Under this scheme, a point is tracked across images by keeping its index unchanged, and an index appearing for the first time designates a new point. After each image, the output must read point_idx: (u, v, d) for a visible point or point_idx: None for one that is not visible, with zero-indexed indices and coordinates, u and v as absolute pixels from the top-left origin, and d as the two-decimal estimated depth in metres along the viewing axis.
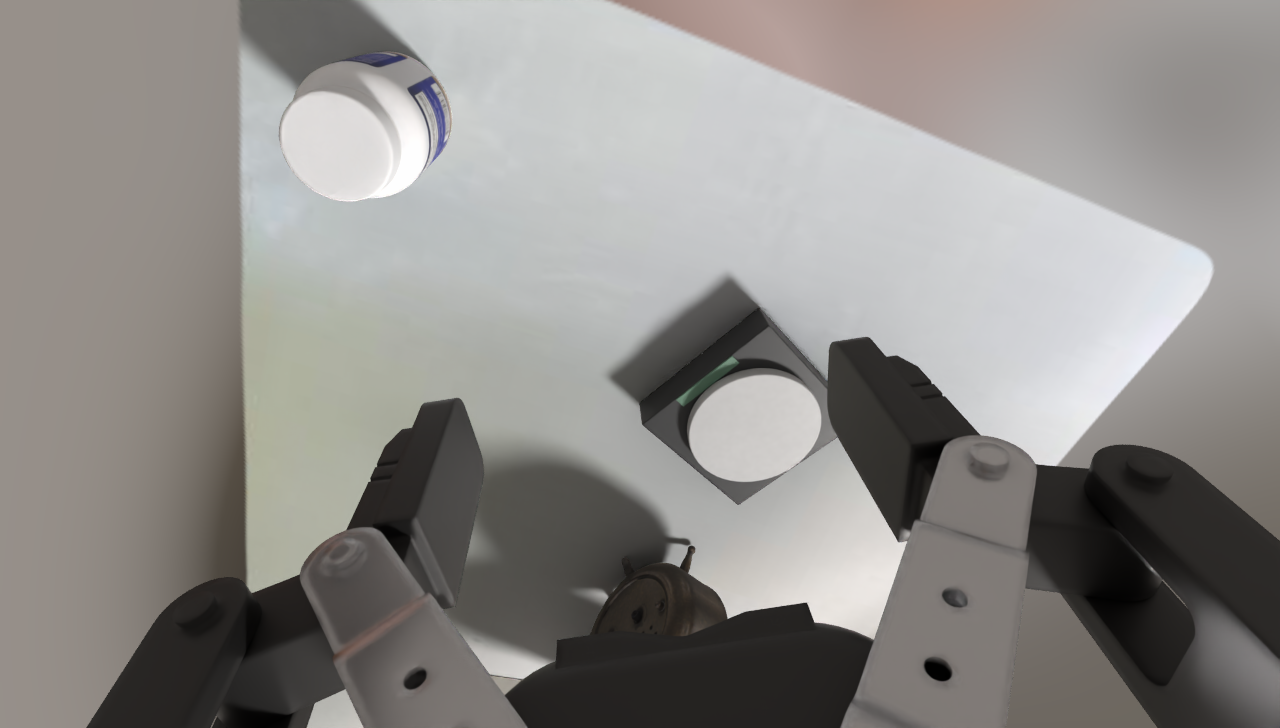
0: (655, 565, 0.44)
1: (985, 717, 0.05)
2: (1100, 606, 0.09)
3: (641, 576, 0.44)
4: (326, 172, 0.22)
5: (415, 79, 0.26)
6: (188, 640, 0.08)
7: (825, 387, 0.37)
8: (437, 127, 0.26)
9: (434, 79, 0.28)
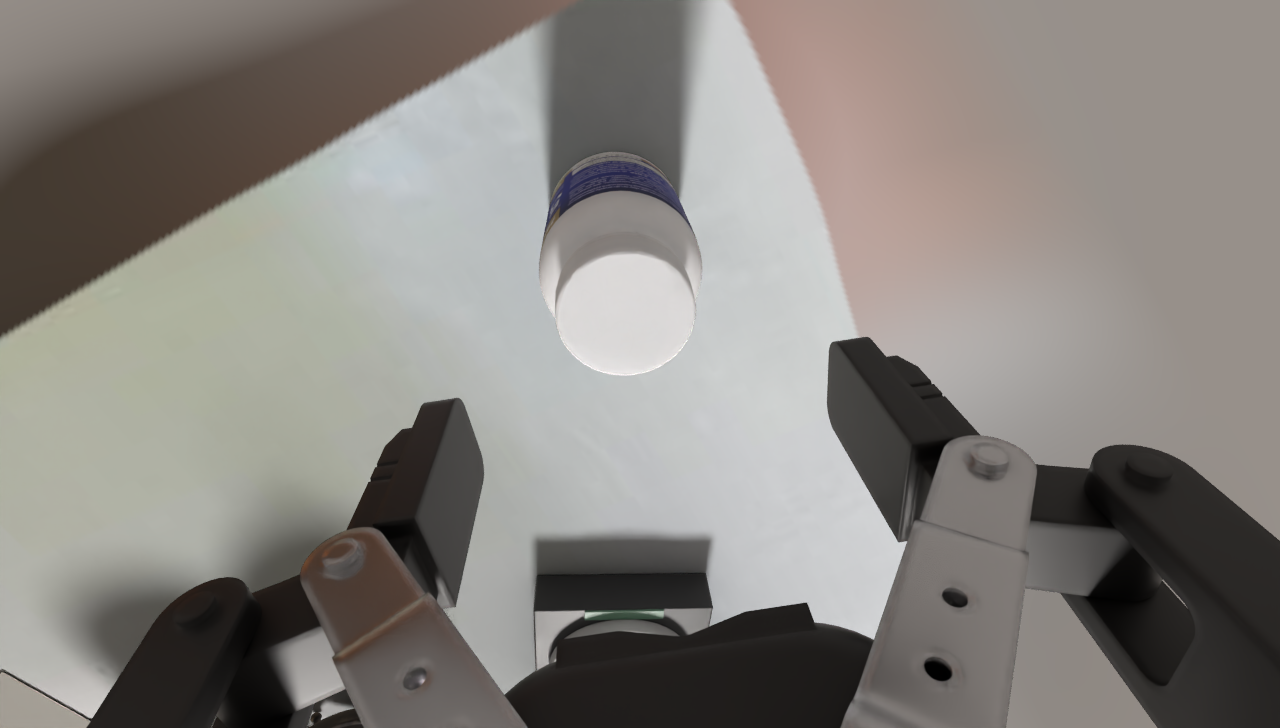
0: None
1: (985, 717, 0.05)
2: (1100, 606, 0.09)
3: None
4: (590, 323, 0.17)
5: None
6: (188, 639, 0.08)
7: None
8: None
9: None
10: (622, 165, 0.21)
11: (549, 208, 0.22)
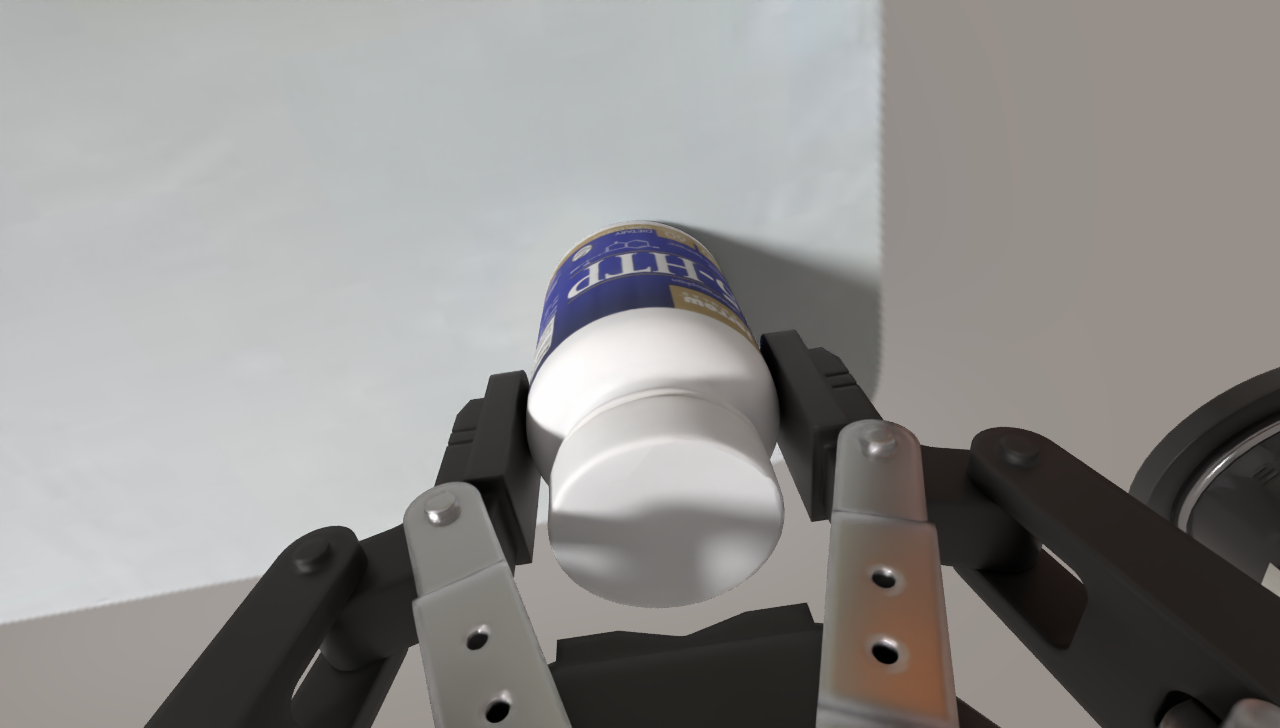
0: None
1: (936, 689, 0.06)
2: (997, 582, 0.09)
3: None
4: (675, 486, 0.09)
5: None
6: (301, 579, 0.08)
7: None
8: None
9: None
10: None
11: (700, 256, 0.15)
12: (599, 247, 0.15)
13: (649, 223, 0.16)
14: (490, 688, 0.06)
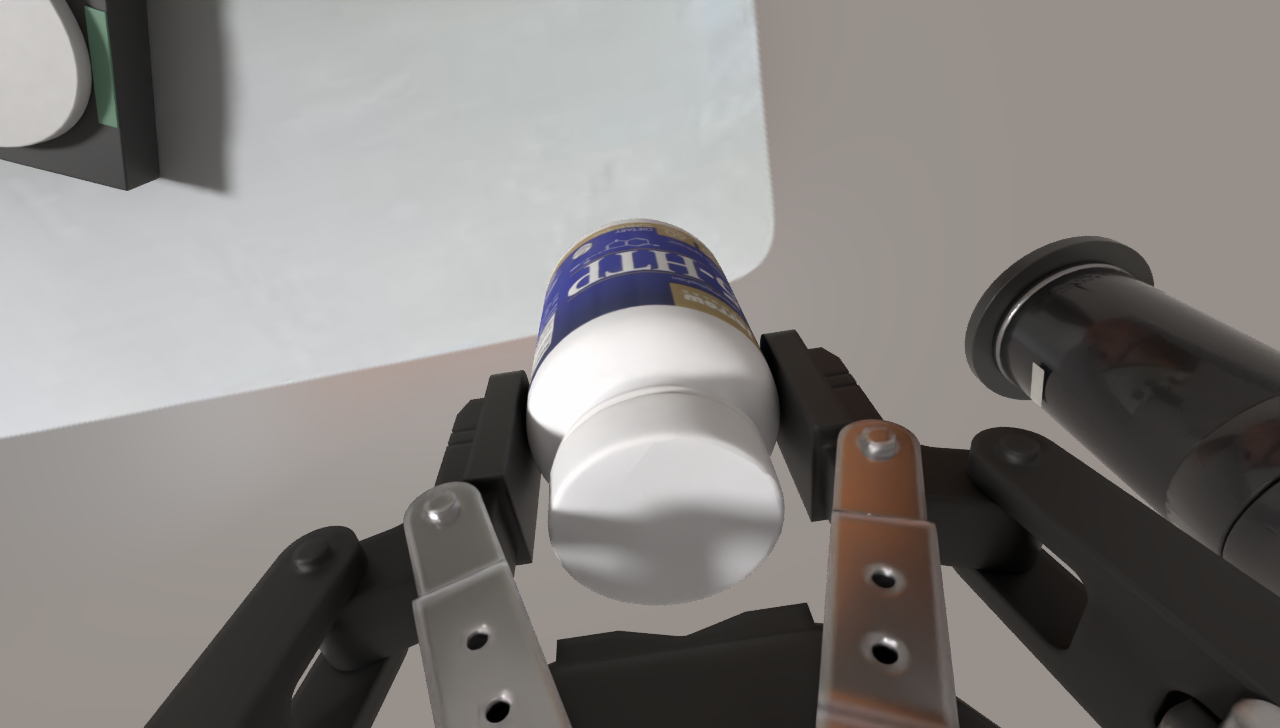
0: None
1: (935, 689, 0.06)
2: (996, 582, 0.09)
3: None
4: (675, 483, 0.09)
5: None
6: (301, 579, 0.08)
7: None
8: None
9: None
10: None
11: (700, 254, 0.15)
12: (599, 245, 0.15)
13: (649, 221, 0.16)
14: (490, 688, 0.06)
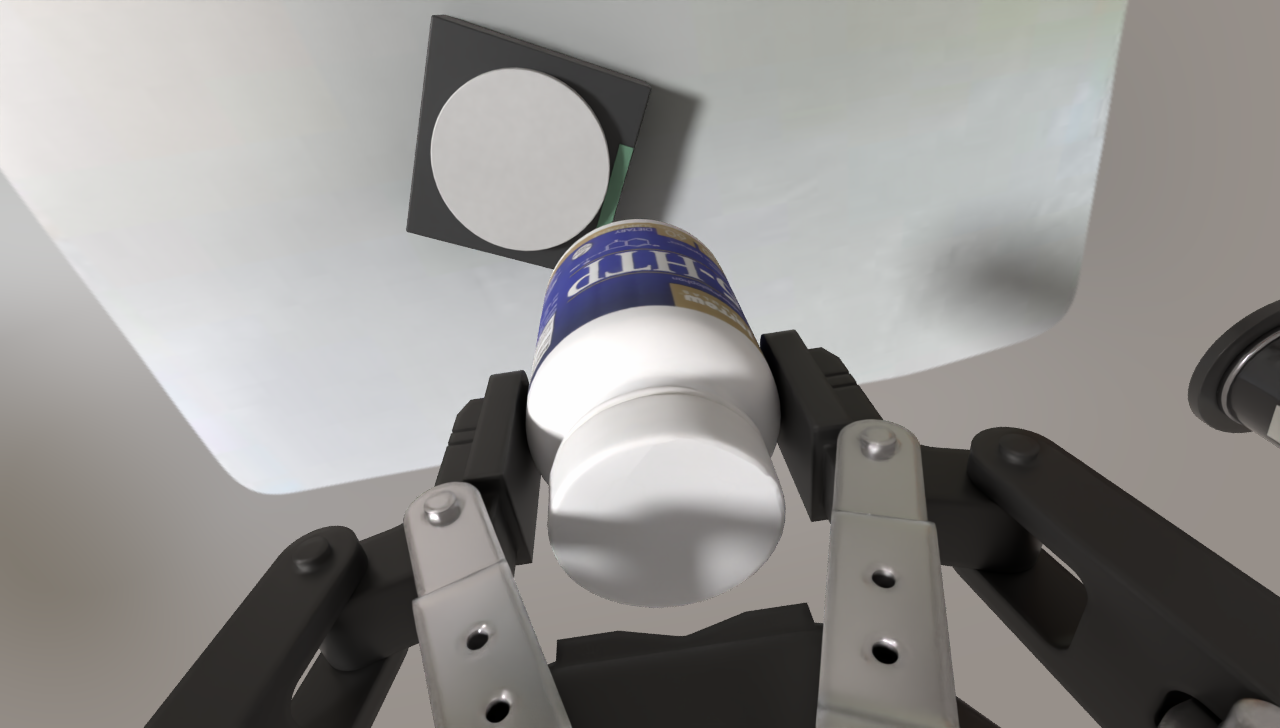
0: None
1: (936, 689, 0.06)
2: (997, 582, 0.09)
3: None
4: (675, 485, 0.09)
5: None
6: (301, 579, 0.08)
7: (483, 250, 0.31)
8: None
9: None
10: None
11: (701, 254, 0.15)
12: (599, 245, 0.15)
13: (649, 221, 0.16)
14: (490, 688, 0.06)
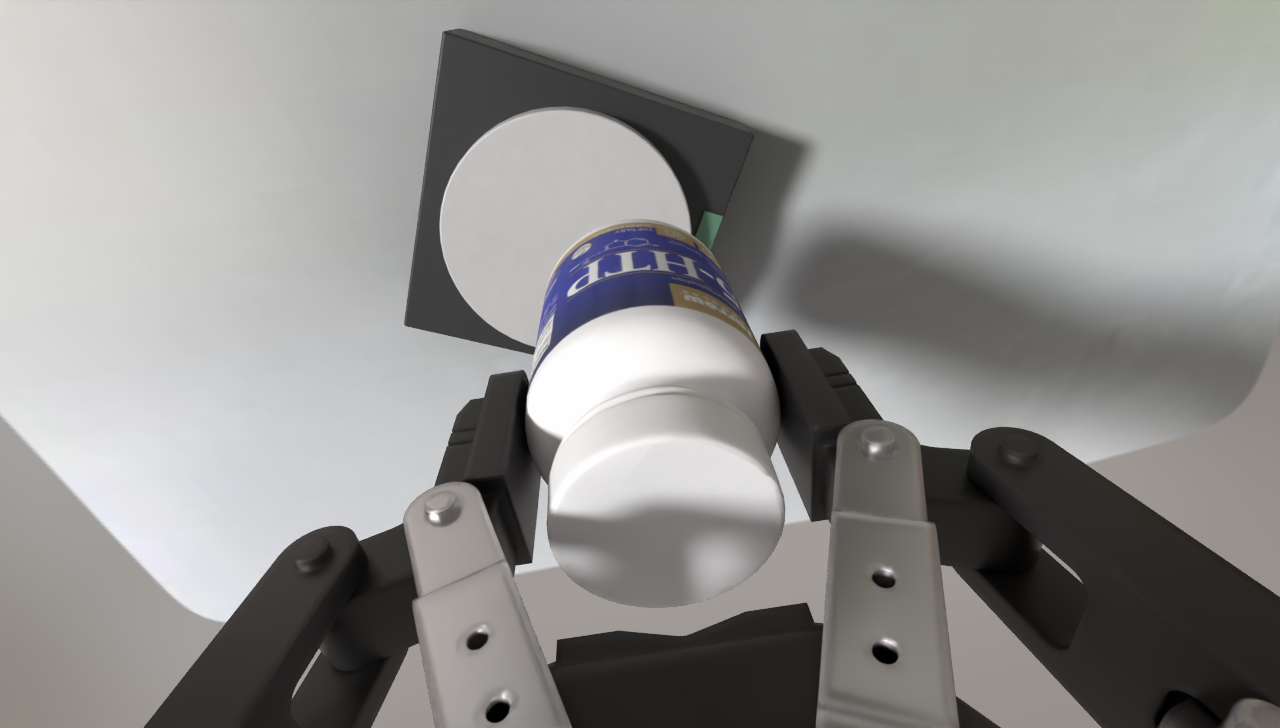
0: None
1: (936, 689, 0.06)
2: (997, 582, 0.09)
3: None
4: (674, 485, 0.09)
5: None
6: (301, 580, 0.08)
7: (509, 348, 0.23)
8: None
9: None
10: None
11: (700, 254, 0.15)
12: (599, 245, 0.15)
13: (649, 221, 0.16)
14: (490, 688, 0.06)
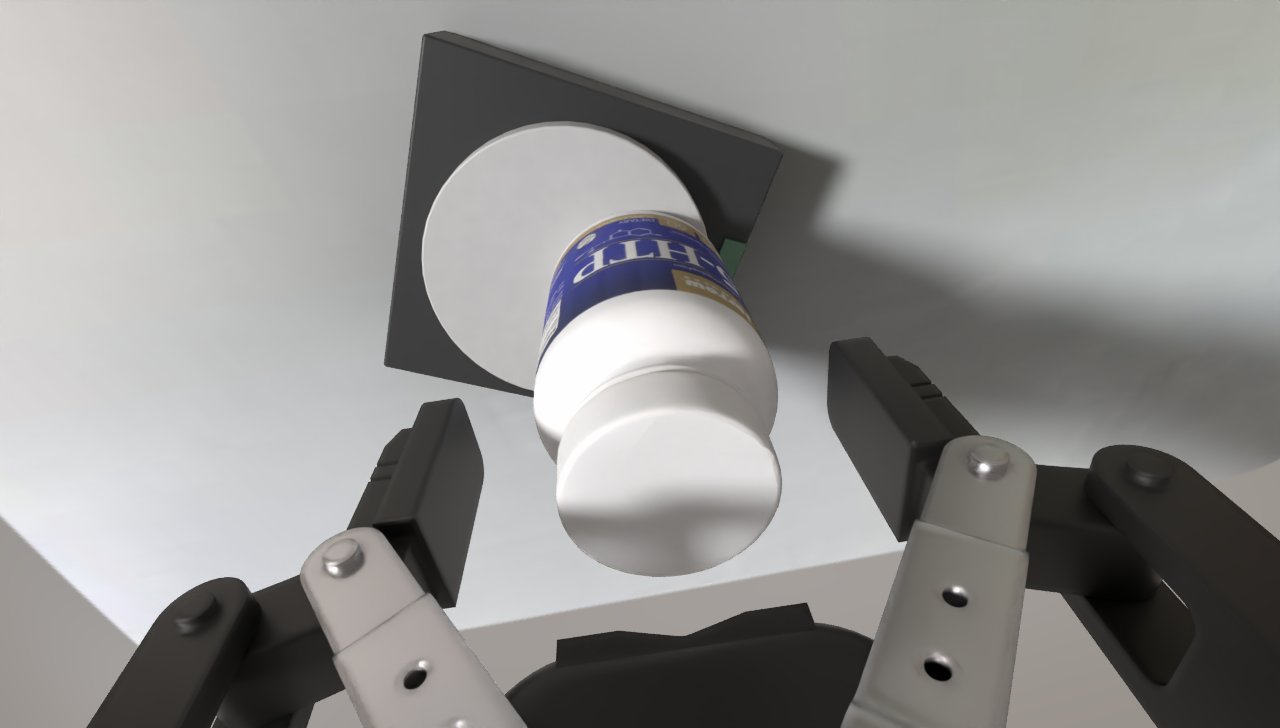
0: None
1: (985, 717, 0.05)
2: (1100, 606, 0.09)
3: None
4: (676, 456, 0.10)
5: None
6: (187, 640, 0.08)
7: (503, 390, 0.20)
8: None
9: None
10: None
11: (701, 244, 0.15)
12: (604, 234, 0.15)
13: (651, 213, 0.16)
14: (439, 722, 0.06)
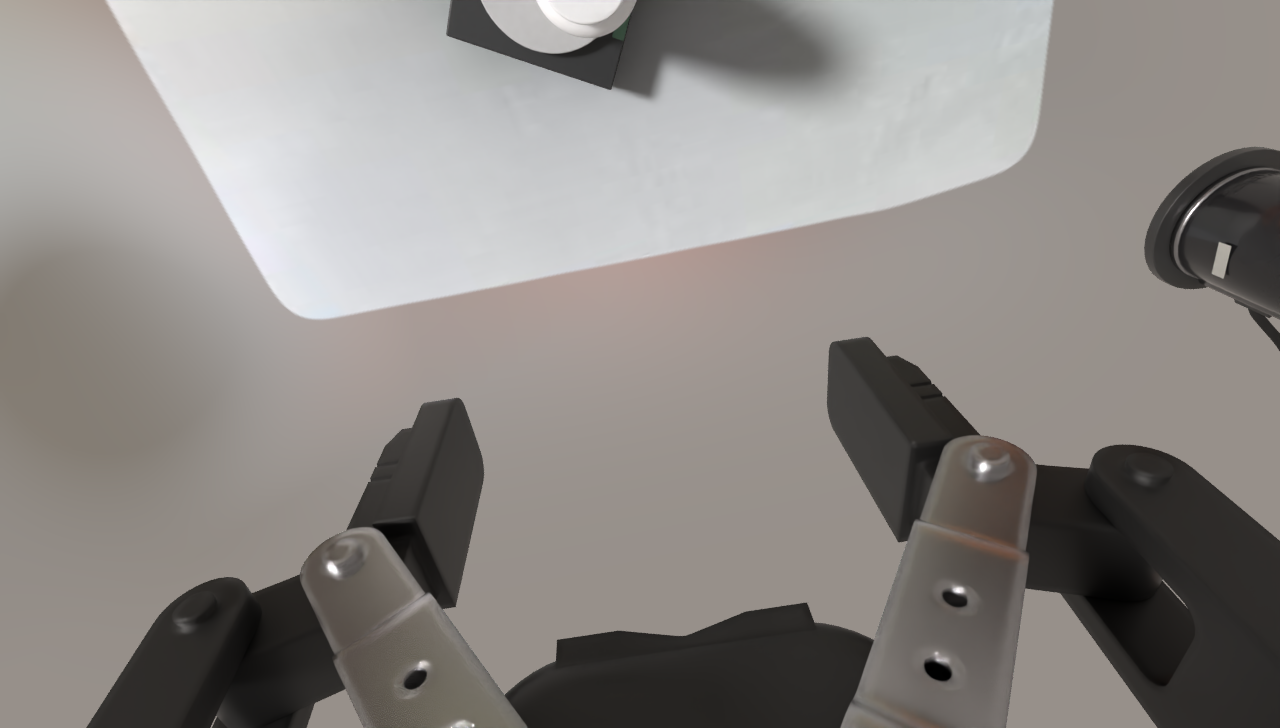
0: None
1: (985, 717, 0.05)
2: (1100, 606, 0.09)
3: None
4: None
5: None
6: (187, 639, 0.08)
7: (513, 56, 0.36)
8: None
9: None
10: None
11: None
12: None
13: None
14: (439, 722, 0.06)
